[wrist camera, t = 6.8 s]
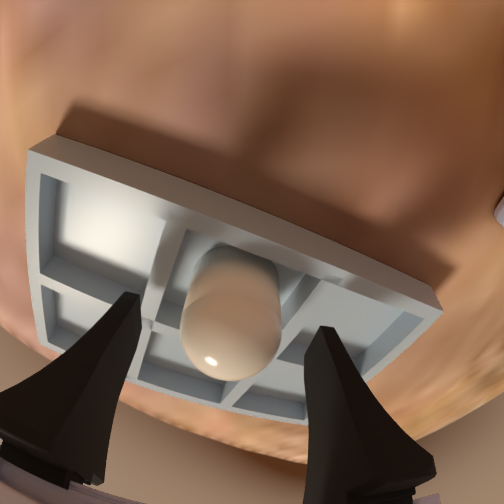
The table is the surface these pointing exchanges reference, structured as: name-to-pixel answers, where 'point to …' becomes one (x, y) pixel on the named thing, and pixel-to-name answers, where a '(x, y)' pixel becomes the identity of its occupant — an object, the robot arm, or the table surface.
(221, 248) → the egg
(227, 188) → the table surface
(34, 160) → the grey compartment tray
